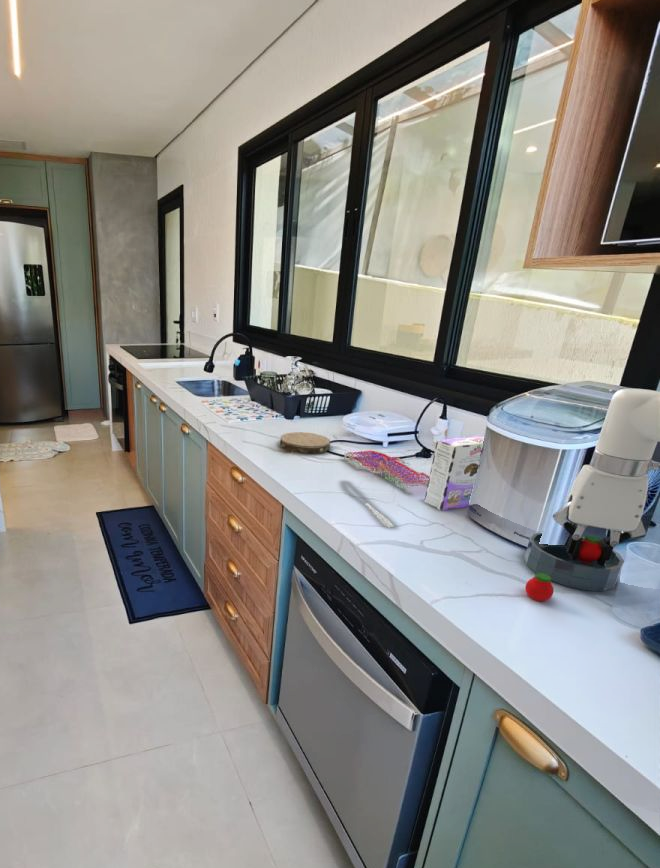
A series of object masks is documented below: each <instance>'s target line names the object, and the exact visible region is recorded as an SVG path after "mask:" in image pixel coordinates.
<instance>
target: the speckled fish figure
mask: <svg viewBox="0 0 660 868" xmlns="http://www.w3.org/2000/svg"><path fill="white" fill-rule="evenodd" d="M347 458H348V462H349V465H352V463H354V462H355V463H357V464H356V465H355V466H356V467H355V469H357V471H358V470H362V467H363V468H364V469H366V470H367V471H368V472H370V473H372V474H376V475H380V477H382V478H383V477H384V479H385V480H386V481H388V482H390V483H394V484H395V486H396V487H398V489H400V488H401V490H402V491H404V492H405V493H408V492H409V491H410V487H418V486H428V481H429V476H430V474H427V473H425V472H418V471H416V470H415V469H414V468H412V467H410V466H412V464H411V463H409V462H407V461H405V460H404V459H402V458H400V457H398V456H390V455H388V454H386V453H384V452H378V451H376V450H364V451H354V452H353V451H349V452H344V457H343V460H344V461H345V462H346V461H347ZM399 483H400V484H401V485H399Z"/></svg>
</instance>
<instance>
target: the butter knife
mask: <svg viewBox="0 0 660 868" xmlns="http://www.w3.org/2000/svg"><path fill="white" fill-rule="evenodd" d="M364 504H365V505H366V506H367V508H368V509H369V510H370V512H372V514H374V516H375V517H376V518H377V519H378V520H379V522H381V523H382V525H384V526H385V527H386V528H394V527H395V526H394V524H393V523H392V521H390V520H389V519H388V518H387V517H386V516H385V515H383V514H382V513H381V512H380V511H378V510H377V509H375V507H373V506H372V505H371V504H370V503H368V502H365V503H364Z"/></svg>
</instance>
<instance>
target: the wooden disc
mask: <svg viewBox="0 0 660 868" xmlns="http://www.w3.org/2000/svg"><path fill="white" fill-rule="evenodd" d="M279 443H280V444H279V448H280V449H281V450H283V451H285V452H287V453H290V454H292V453H297V454H305V455H318V454H324V453H326V452H328V451H329V450H330V446H331V445H330V444H331V440H330V438H328V437H327V436H324V435H323V434H318V433H313V432H303V431H302V432H301V431H300V432H299V431H297V432H295V431H293V432H287V433H283V434H282V435H281V436H280V439H279Z"/></svg>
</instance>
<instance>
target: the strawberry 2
mask: <svg viewBox="0 0 660 868" xmlns="http://www.w3.org/2000/svg"><path fill="white" fill-rule="evenodd" d="M600 540H601V538H599V537H598V536H595V535H590V534H587V535H585V536H584V539H583V540H582V546H581V549H580V551H579V554H578V559H579V560H580V561H582V562H586V563H591V562H593V561H596V560H598V559H599V558H600V557H601V554H602V547H601V545H600Z"/></svg>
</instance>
